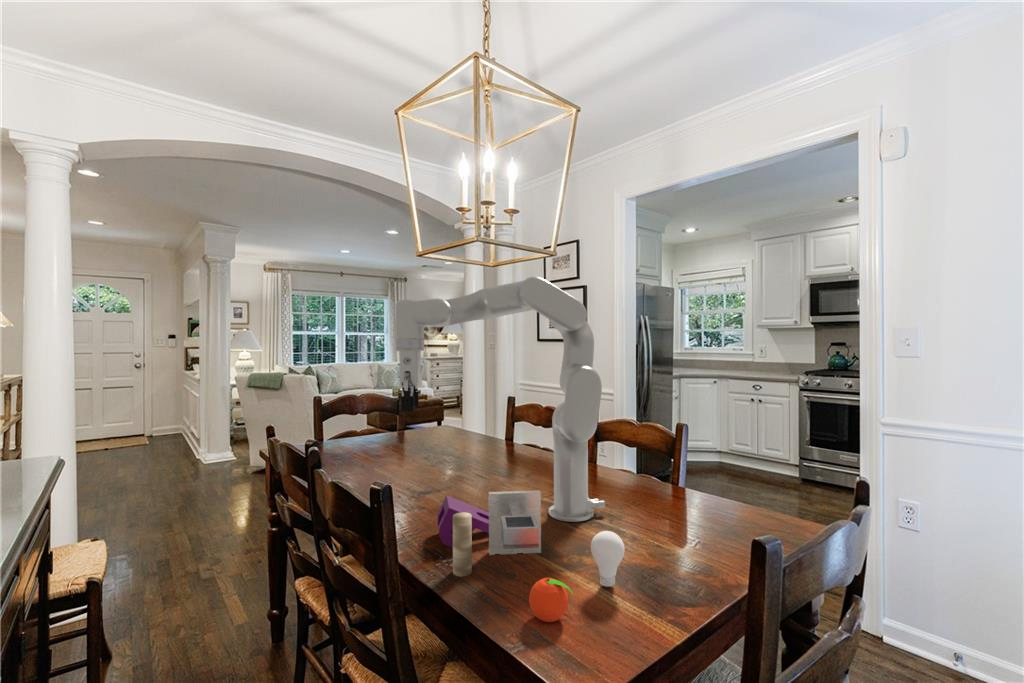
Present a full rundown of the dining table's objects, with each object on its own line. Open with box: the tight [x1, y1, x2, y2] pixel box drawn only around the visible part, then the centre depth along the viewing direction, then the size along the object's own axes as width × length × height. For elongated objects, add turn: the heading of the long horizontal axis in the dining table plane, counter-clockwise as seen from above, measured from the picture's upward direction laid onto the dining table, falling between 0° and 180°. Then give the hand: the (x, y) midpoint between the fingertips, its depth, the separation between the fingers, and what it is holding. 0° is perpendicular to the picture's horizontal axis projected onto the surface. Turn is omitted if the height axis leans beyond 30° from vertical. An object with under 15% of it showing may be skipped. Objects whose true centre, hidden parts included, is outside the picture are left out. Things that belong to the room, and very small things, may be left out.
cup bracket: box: [488, 489, 542, 556], centre depth 106 cm, size 12×15×14 cm
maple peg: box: [452, 512, 473, 578], centre depth 103 cm, size 4×4×12 cm
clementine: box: [528, 577, 575, 623], centre depth 86 cm, size 8×7×7 cm
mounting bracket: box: [436, 494, 489, 548], centre depth 121 cm, size 9×8×18 cm
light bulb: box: [590, 530, 626, 589], centre depth 97 cm, size 7×7×11 cm
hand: (410, 408), depth 131 cm, fingers open, 9 cm apart
